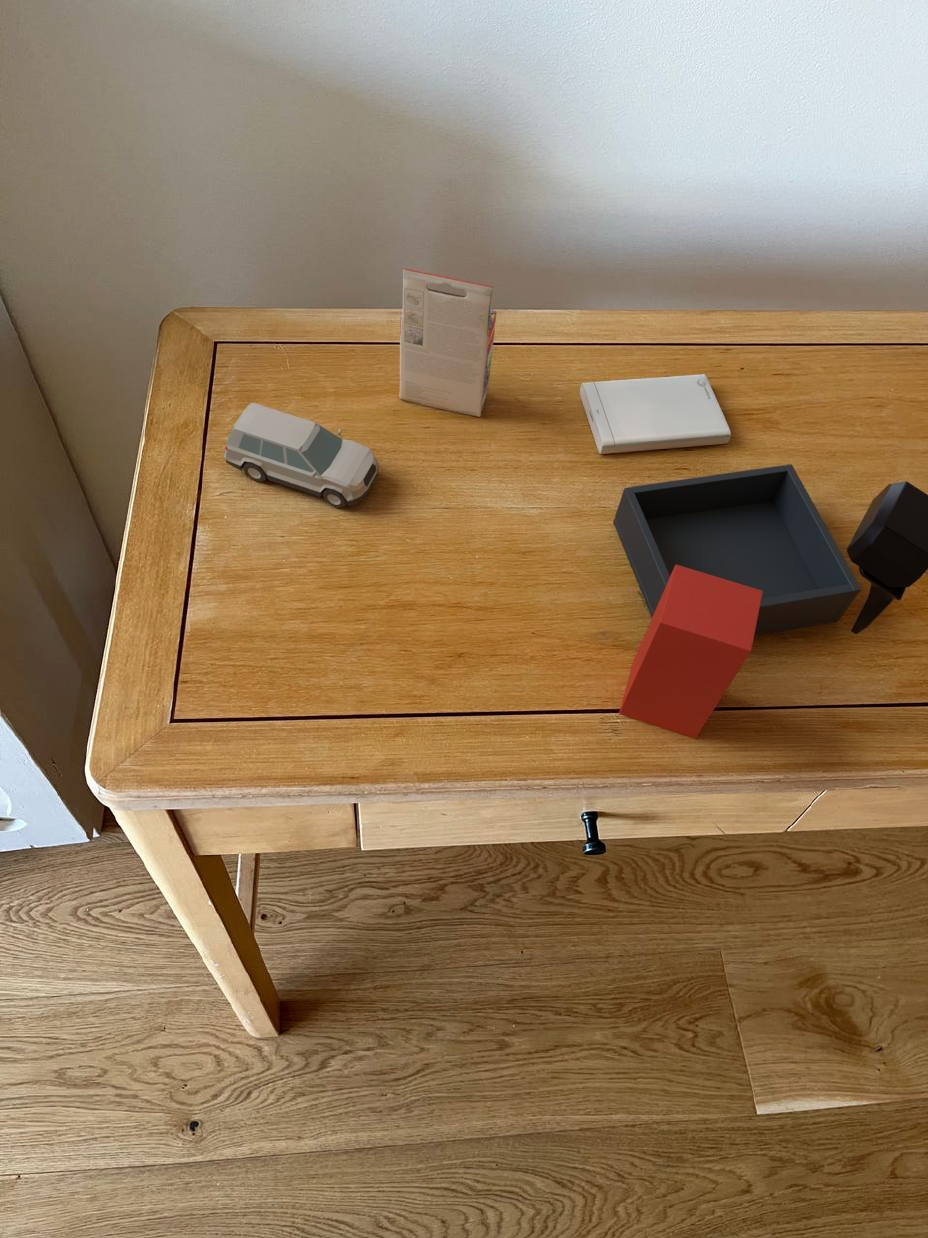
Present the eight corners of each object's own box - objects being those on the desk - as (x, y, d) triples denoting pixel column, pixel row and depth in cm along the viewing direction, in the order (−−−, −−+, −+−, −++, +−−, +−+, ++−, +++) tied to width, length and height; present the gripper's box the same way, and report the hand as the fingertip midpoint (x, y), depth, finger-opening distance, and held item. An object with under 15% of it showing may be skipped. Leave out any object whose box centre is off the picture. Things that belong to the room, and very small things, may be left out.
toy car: (359, 519, 79) (357, 480, 75) (223, 473, 81) (214, 433, 77) (385, 472, 82) (385, 432, 78) (254, 429, 84) (246, 388, 80)
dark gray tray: (773, 498, 84) (791, 463, 80) (838, 621, 77) (862, 589, 73) (612, 522, 81) (623, 487, 77) (665, 651, 74) (680, 620, 70)
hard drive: (705, 371, 90) (581, 380, 88) (732, 433, 86) (603, 443, 84) (700, 384, 91) (578, 393, 89) (727, 446, 87) (599, 456, 85)
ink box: (408, 375, 89) (411, 241, 77) (488, 393, 89) (504, 261, 76) (397, 402, 87) (399, 268, 75) (480, 420, 87) (495, 289, 74)
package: (707, 684, 73) (763, 590, 62) (695, 739, 70) (751, 651, 59) (633, 660, 73) (675, 564, 63) (618, 714, 71) (660, 622, 60)
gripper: (908, 526, 45) (749, 669, 58) (1258, 756, 43) (1010, 851, 56) (967, 403, 51) (810, 559, 64) (1276, 601, 49) (1049, 719, 62)
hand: (914, 669), depth 61 cm, fingers open, 9 cm apart
